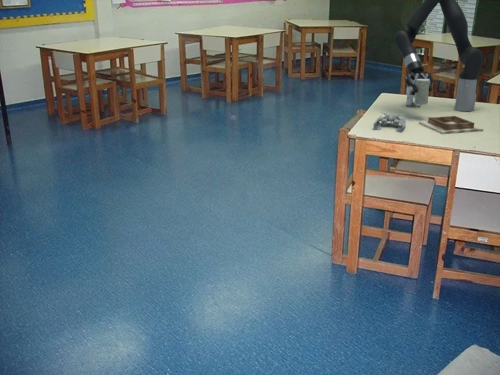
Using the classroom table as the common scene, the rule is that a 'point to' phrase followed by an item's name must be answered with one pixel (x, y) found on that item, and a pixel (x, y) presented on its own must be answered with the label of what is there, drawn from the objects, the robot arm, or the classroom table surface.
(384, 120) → the spaceship toy
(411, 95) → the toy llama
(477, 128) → the holder
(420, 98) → the skincare box
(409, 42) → the robot arm
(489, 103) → the classroom table surface
